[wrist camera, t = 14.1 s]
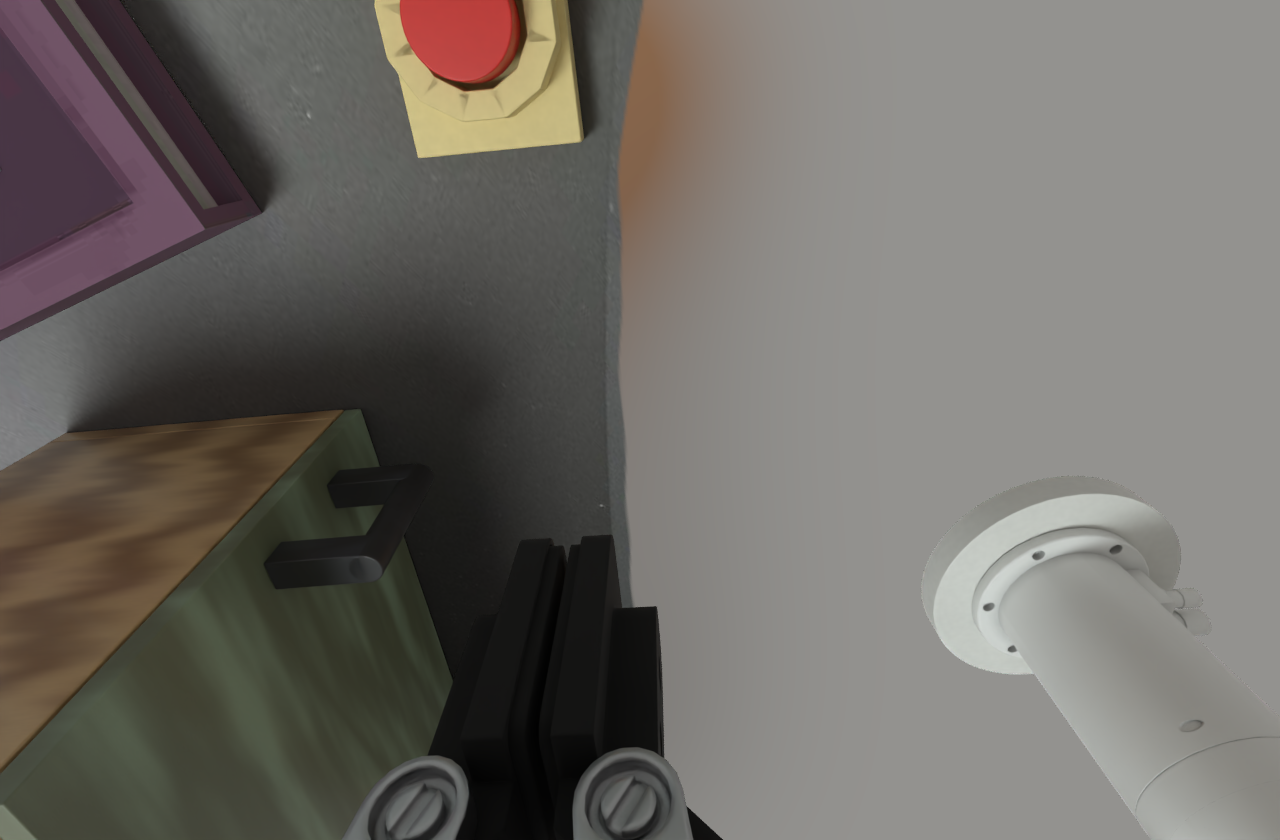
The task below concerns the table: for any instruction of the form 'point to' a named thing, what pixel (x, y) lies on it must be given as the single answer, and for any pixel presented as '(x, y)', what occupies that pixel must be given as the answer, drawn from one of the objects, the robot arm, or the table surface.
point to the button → (463, 36)
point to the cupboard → (117, 542)
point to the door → (256, 676)
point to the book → (96, 159)
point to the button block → (493, 89)
